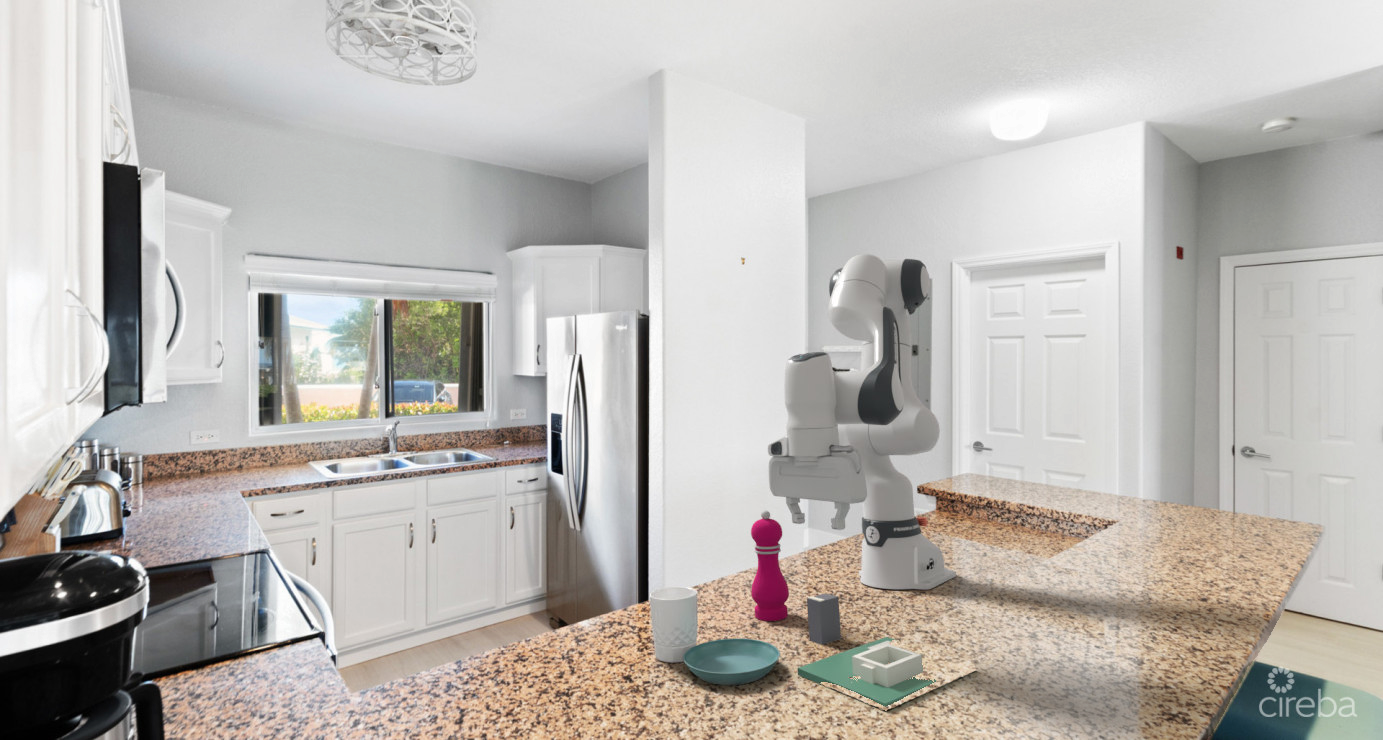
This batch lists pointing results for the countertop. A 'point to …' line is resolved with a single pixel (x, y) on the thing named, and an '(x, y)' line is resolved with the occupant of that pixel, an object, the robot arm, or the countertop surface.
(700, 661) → the saucer
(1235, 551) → the countertop surface
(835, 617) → the plug
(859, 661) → the board
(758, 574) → the pepper mill
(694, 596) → the white cup
